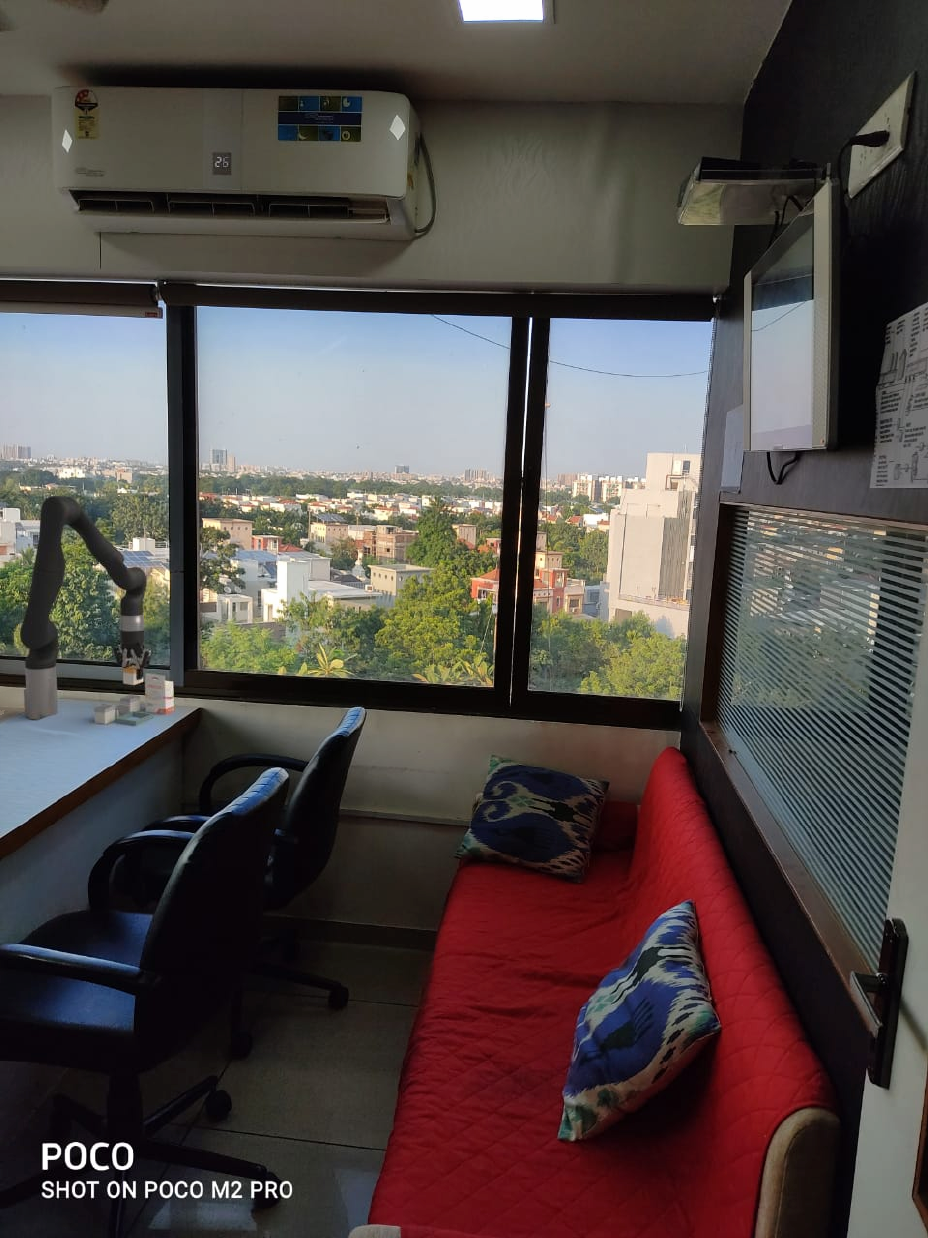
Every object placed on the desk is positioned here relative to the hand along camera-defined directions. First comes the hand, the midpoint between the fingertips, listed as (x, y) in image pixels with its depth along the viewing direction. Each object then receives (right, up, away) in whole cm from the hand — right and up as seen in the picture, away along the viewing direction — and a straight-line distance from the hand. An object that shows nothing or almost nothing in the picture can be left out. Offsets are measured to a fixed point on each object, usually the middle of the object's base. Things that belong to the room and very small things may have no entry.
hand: (133, 678), depth 277 cm
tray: (-1, -15, +3) cm, 16 cm away
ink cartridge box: (+4, -14, +14) cm, 20 cm away
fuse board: (-8, -14, +7) cm, 18 cm away
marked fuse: (0, -1, 0) cm, 1 cm away
